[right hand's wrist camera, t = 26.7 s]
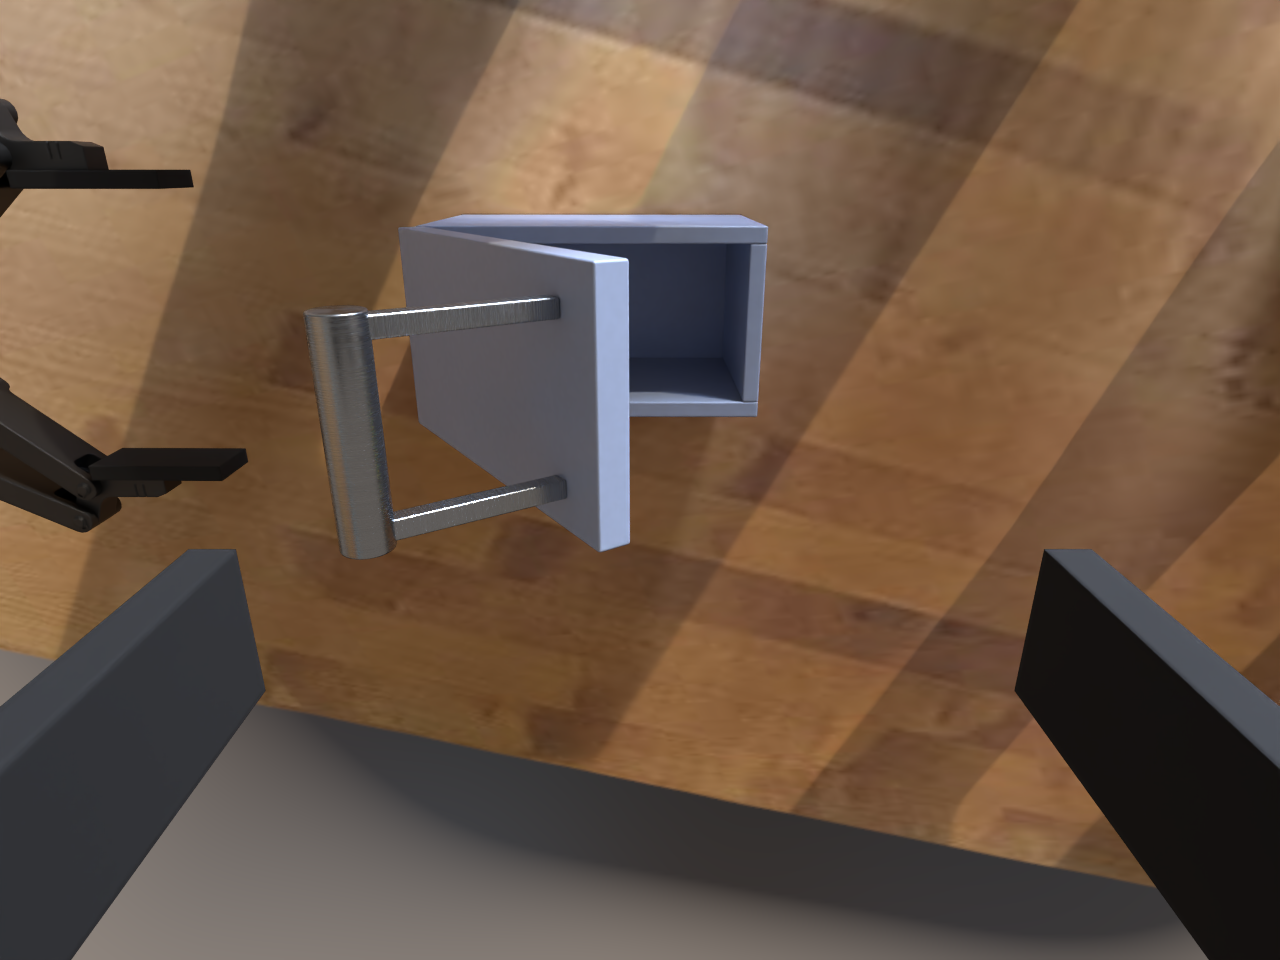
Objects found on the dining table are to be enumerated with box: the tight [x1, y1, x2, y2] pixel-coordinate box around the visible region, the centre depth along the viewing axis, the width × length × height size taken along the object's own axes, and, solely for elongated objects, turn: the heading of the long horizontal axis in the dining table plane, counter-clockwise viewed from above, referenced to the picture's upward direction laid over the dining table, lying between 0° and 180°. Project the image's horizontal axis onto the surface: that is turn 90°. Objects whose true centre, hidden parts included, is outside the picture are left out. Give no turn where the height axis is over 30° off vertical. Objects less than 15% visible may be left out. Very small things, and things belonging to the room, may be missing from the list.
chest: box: [416, 214, 768, 417], centre depth 43 cm, size 16×9×11 cm, turn 90°
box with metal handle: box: [303, 226, 630, 559], centre depth 29 cm, size 17×9×9 cm
